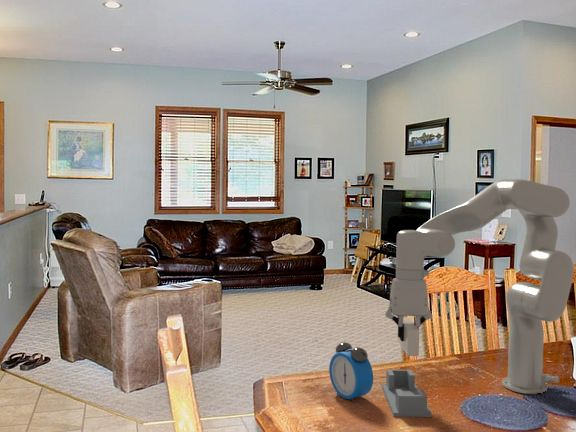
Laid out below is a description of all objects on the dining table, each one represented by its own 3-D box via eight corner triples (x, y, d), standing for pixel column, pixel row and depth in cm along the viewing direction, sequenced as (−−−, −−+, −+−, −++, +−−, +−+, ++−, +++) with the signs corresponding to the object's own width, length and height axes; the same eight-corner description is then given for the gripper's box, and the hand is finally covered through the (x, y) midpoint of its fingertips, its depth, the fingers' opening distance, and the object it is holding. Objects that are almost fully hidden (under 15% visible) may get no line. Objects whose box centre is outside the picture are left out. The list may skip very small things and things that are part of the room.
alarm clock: (328, 391, 162) (328, 341, 161) (344, 387, 166) (344, 338, 165) (357, 406, 151) (358, 352, 150) (374, 401, 155) (374, 349, 154)
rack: (415, 387, 165) (415, 369, 165) (431, 416, 145) (432, 396, 144) (382, 387, 166) (382, 369, 165) (393, 416, 145) (393, 396, 145)
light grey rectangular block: (408, 341, 161) (408, 317, 161) (418, 356, 147) (419, 330, 147) (397, 340, 161) (398, 317, 161) (407, 355, 147) (408, 330, 147)
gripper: (435, 273, 157) (434, 337, 158) (378, 272, 157) (376, 336, 158) (442, 277, 149) (440, 344, 150) (382, 276, 149) (380, 343, 150)
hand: (408, 339), depth 154 cm, fingers closed on light grey rectangular block, 2 cm apart
